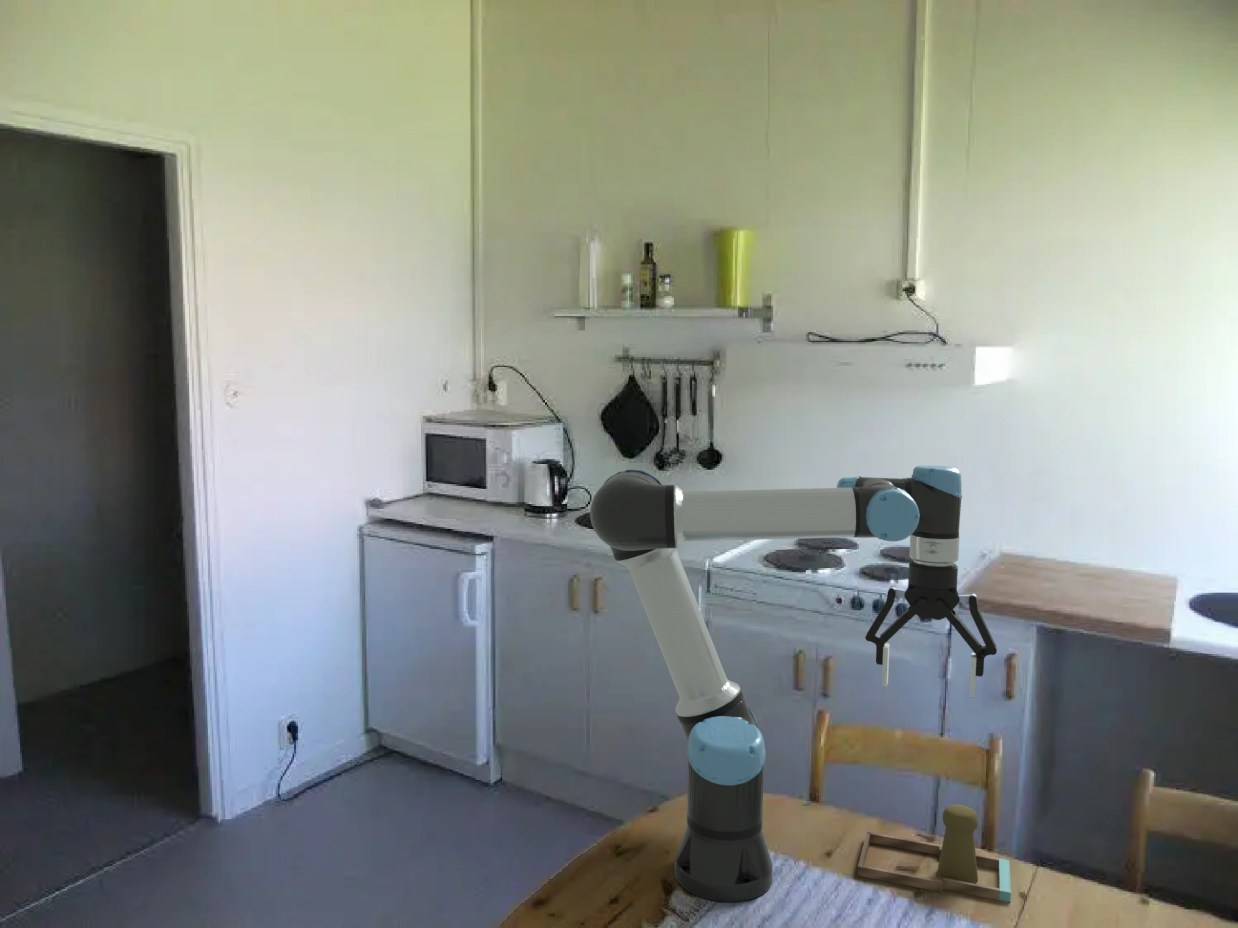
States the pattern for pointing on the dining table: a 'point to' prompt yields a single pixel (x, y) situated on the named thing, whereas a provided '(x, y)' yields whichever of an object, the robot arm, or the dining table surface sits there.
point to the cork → (959, 844)
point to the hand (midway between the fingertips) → (927, 689)
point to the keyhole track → (938, 883)
